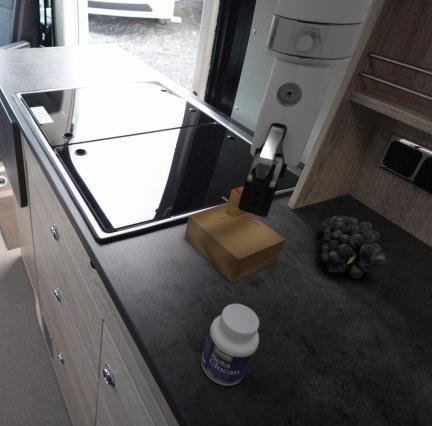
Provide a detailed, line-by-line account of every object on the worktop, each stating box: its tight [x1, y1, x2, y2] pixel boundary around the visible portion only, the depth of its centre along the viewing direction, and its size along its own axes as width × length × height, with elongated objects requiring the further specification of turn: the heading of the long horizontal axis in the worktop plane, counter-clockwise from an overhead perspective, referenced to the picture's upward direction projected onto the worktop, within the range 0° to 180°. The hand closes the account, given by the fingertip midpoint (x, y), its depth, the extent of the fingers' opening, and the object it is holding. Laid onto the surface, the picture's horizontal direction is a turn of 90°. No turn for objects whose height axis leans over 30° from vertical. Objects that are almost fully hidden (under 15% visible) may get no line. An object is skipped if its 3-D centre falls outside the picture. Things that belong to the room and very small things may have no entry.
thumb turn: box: [226, 185, 246, 217], centre depth 63 cm, size 5×2×5 cm, turn 118°
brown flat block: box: [183, 196, 286, 284], centre depth 64 cm, size 14×14×5 cm
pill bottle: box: [200, 303, 260, 387], centre depth 44 cm, size 5×5×10 cm
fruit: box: [319, 215, 387, 279], centre depth 61 cm, size 9×8×15 cm
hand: (261, 192), depth 45 cm, fingers open, 9 cm apart
